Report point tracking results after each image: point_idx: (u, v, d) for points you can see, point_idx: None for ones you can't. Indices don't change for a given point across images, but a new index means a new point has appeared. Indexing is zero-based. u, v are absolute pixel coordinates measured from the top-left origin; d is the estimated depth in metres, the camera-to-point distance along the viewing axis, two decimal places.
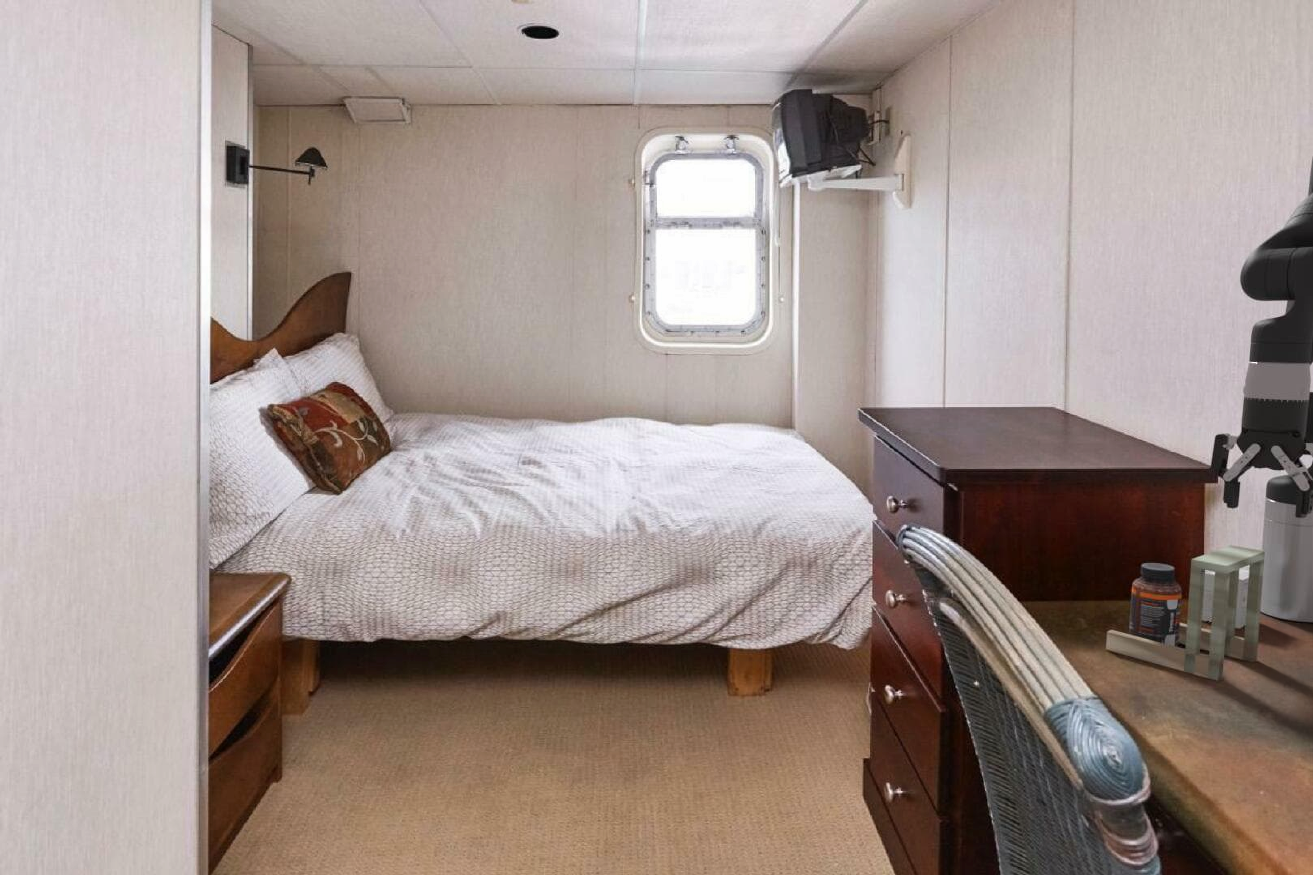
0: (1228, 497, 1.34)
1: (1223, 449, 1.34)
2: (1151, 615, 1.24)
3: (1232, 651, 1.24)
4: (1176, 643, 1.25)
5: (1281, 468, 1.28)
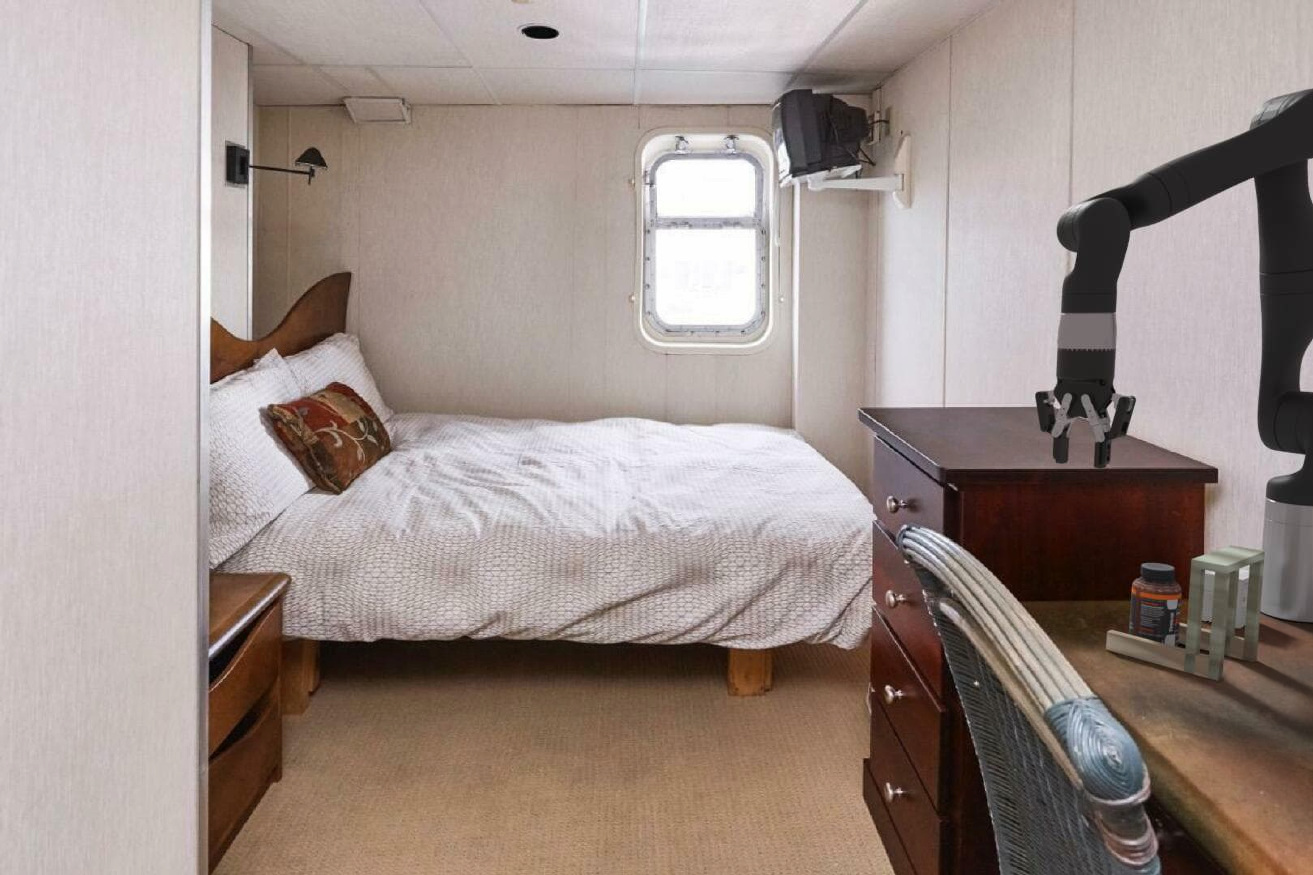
0: (1056, 453, 1.36)
1: (1045, 405, 1.37)
2: (1151, 615, 1.24)
3: (1232, 651, 1.24)
4: (1176, 643, 1.25)
5: (1086, 416, 1.32)
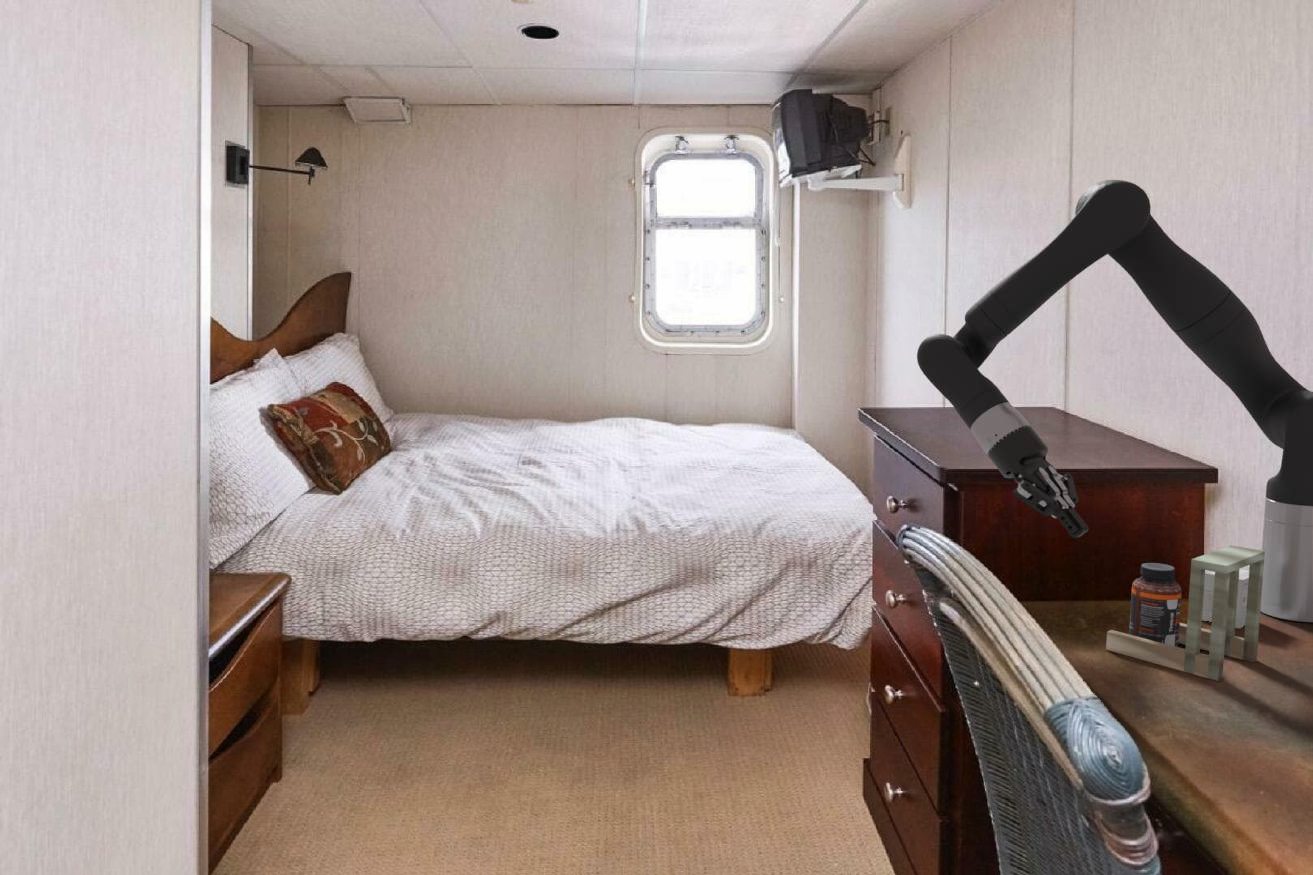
0: None
1: None
2: (1151, 615, 1.24)
3: (1232, 651, 1.24)
4: (1176, 643, 1.25)
5: None
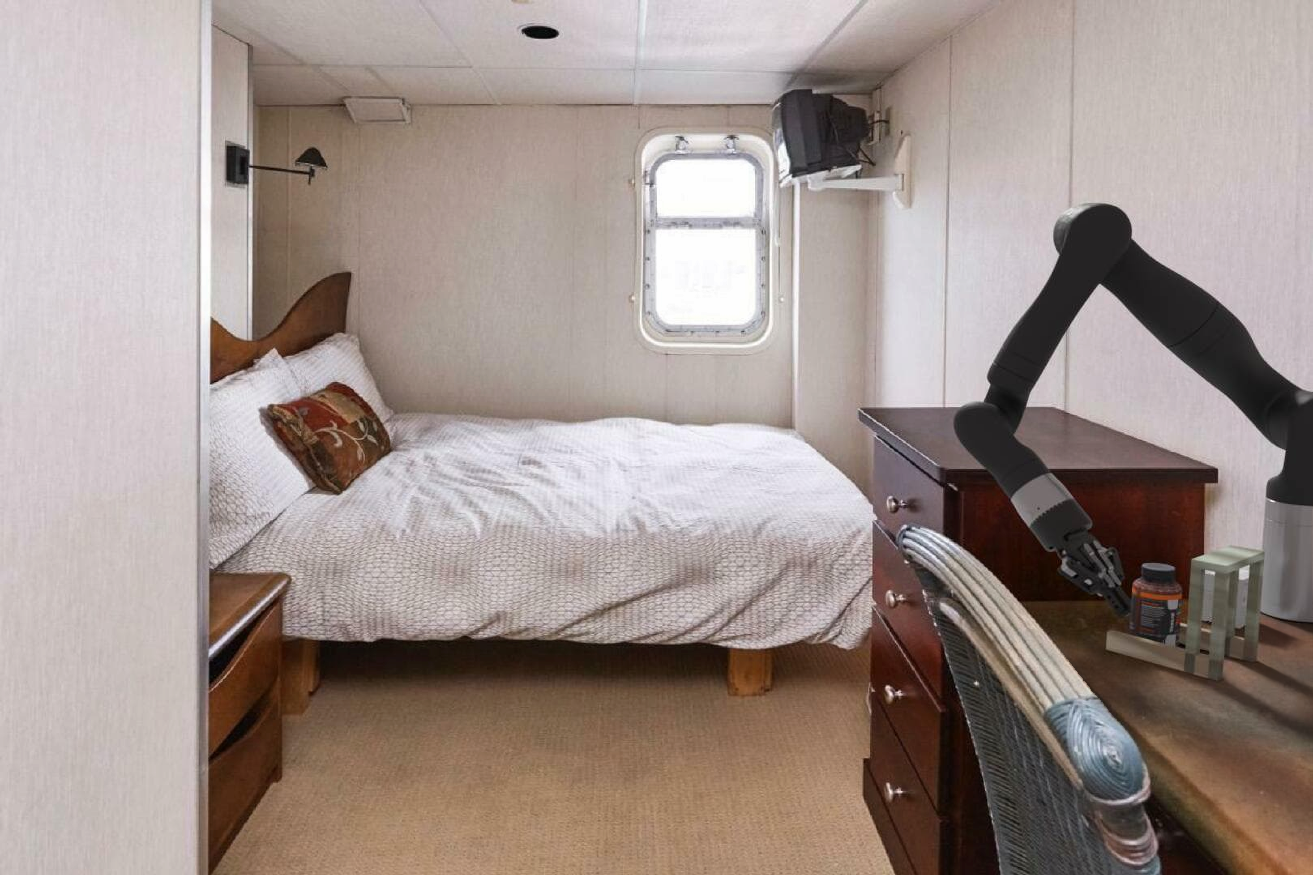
0: None
1: None
2: (1151, 615, 1.24)
3: (1232, 651, 1.24)
4: (1177, 643, 1.25)
5: None
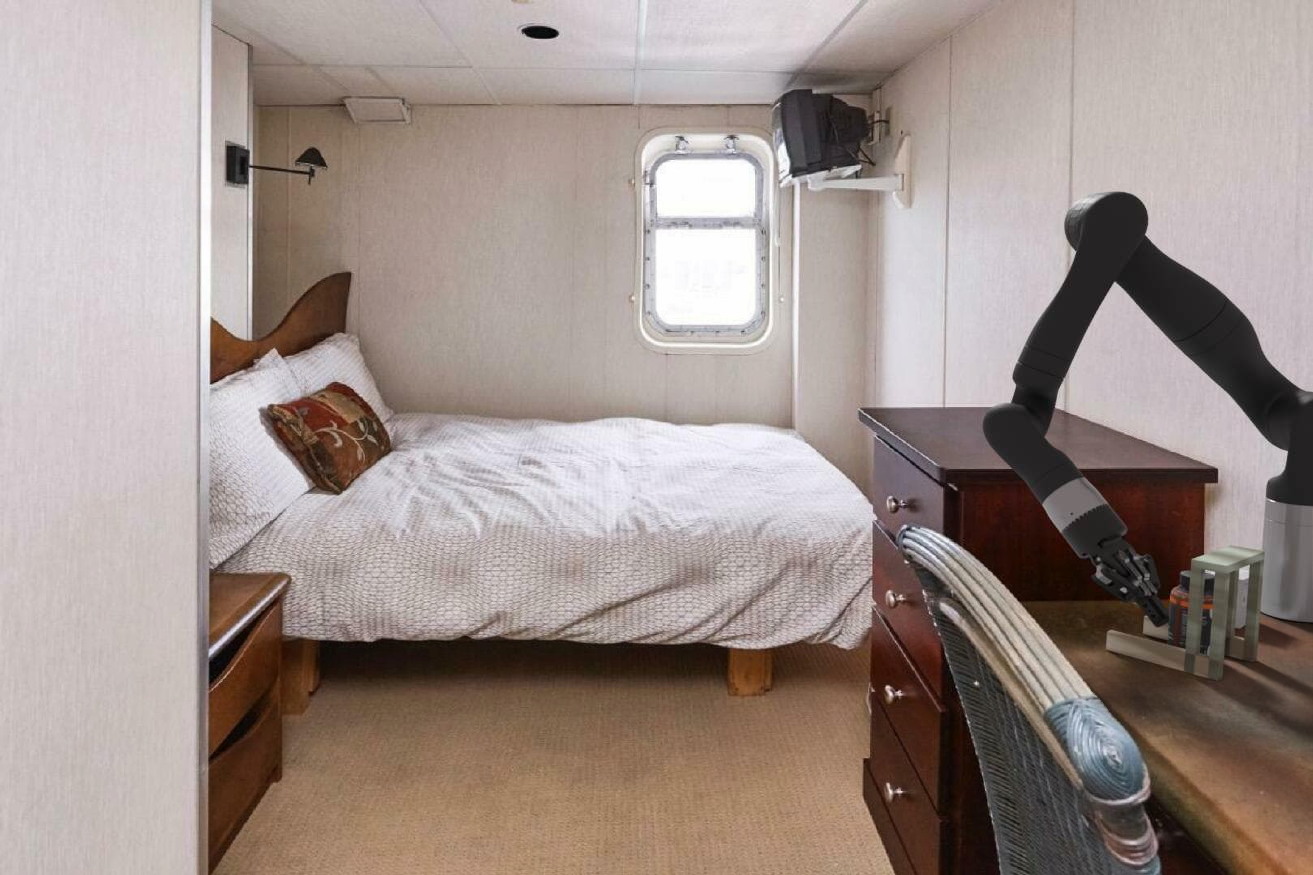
0: None
1: None
2: None
3: (1232, 651, 1.24)
4: None
5: None
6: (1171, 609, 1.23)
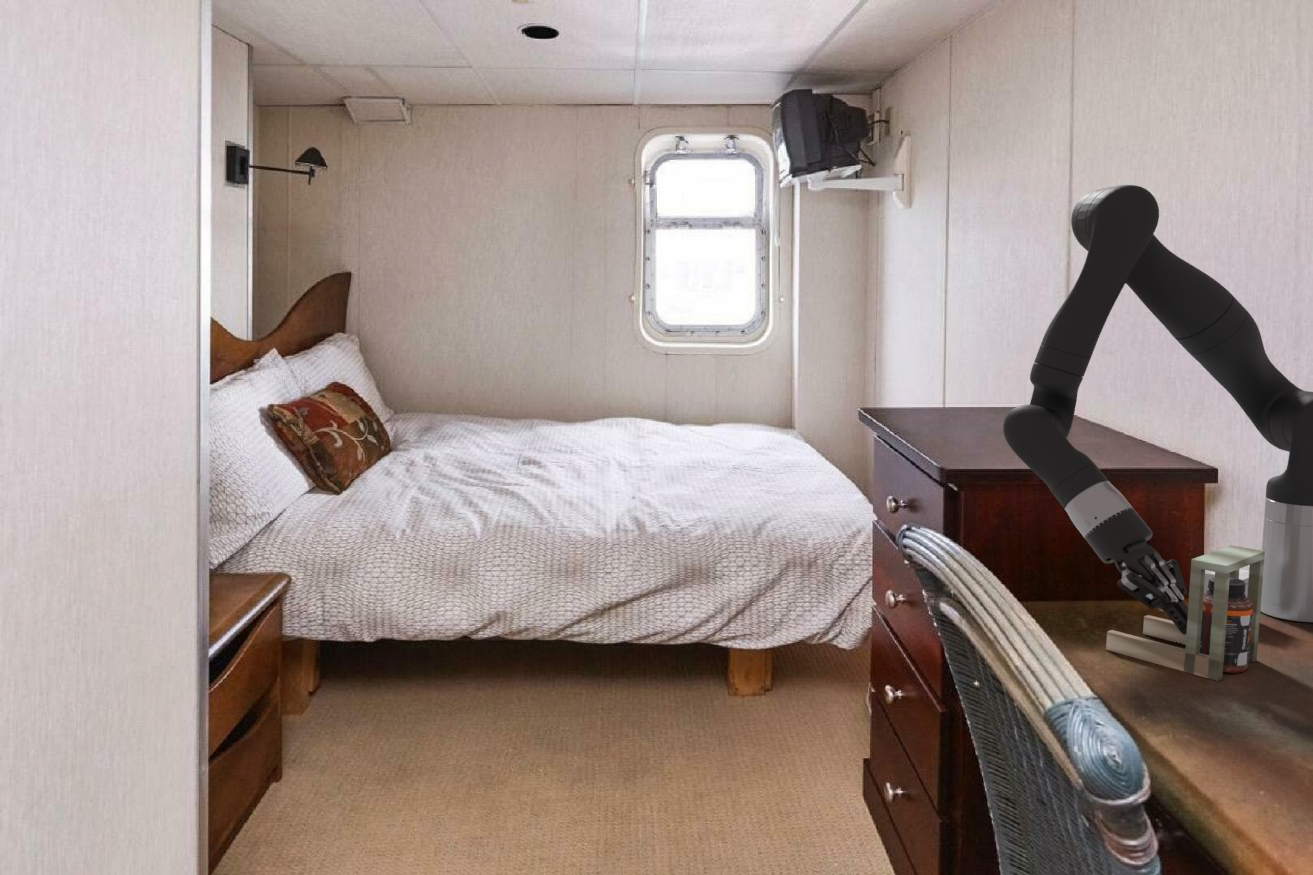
0: None
1: None
2: None
3: None
4: (1248, 661, 1.18)
5: None
6: None
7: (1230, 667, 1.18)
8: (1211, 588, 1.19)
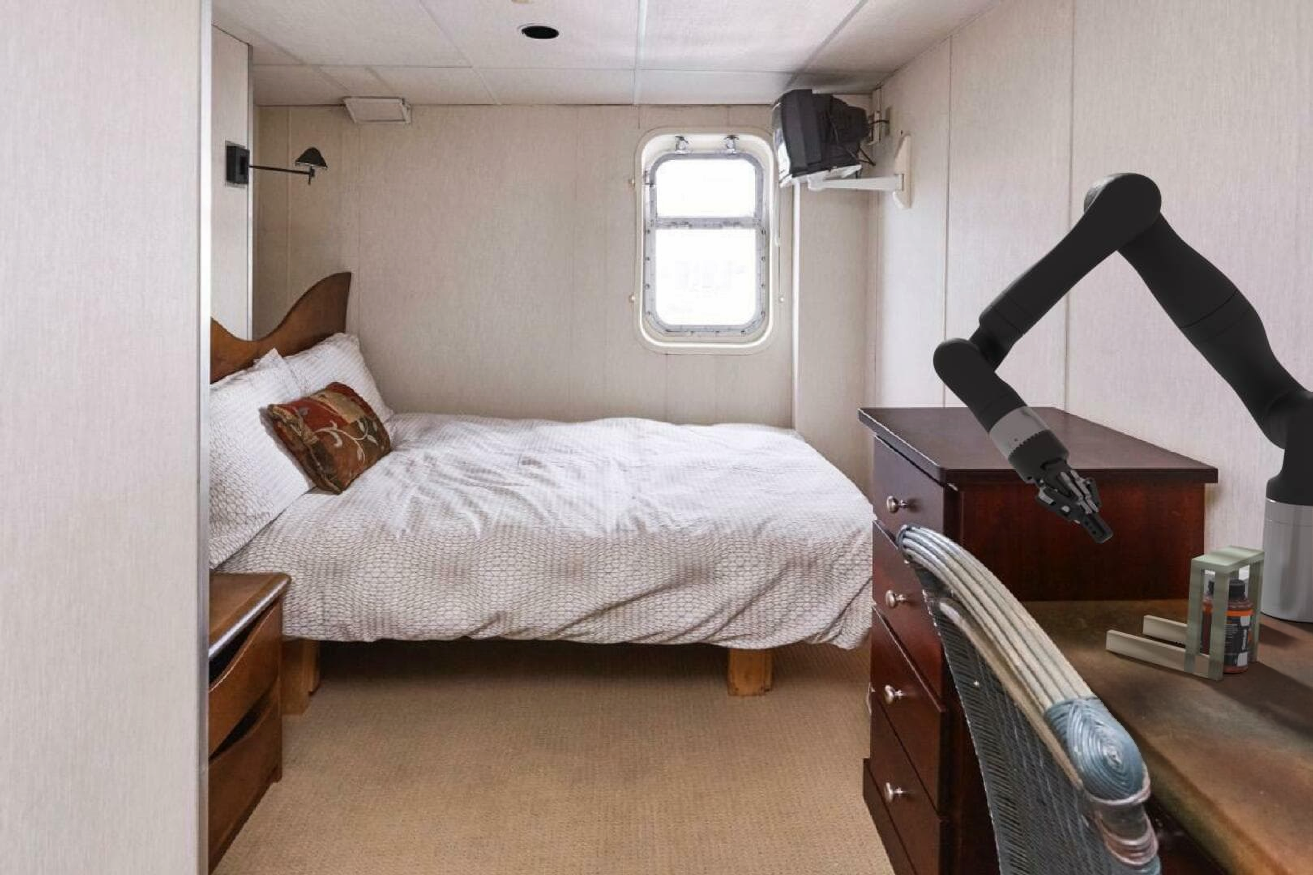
0: None
1: None
2: None
3: None
4: (1248, 661, 1.18)
5: None
6: None
7: (1230, 667, 1.18)
8: (1211, 588, 1.19)
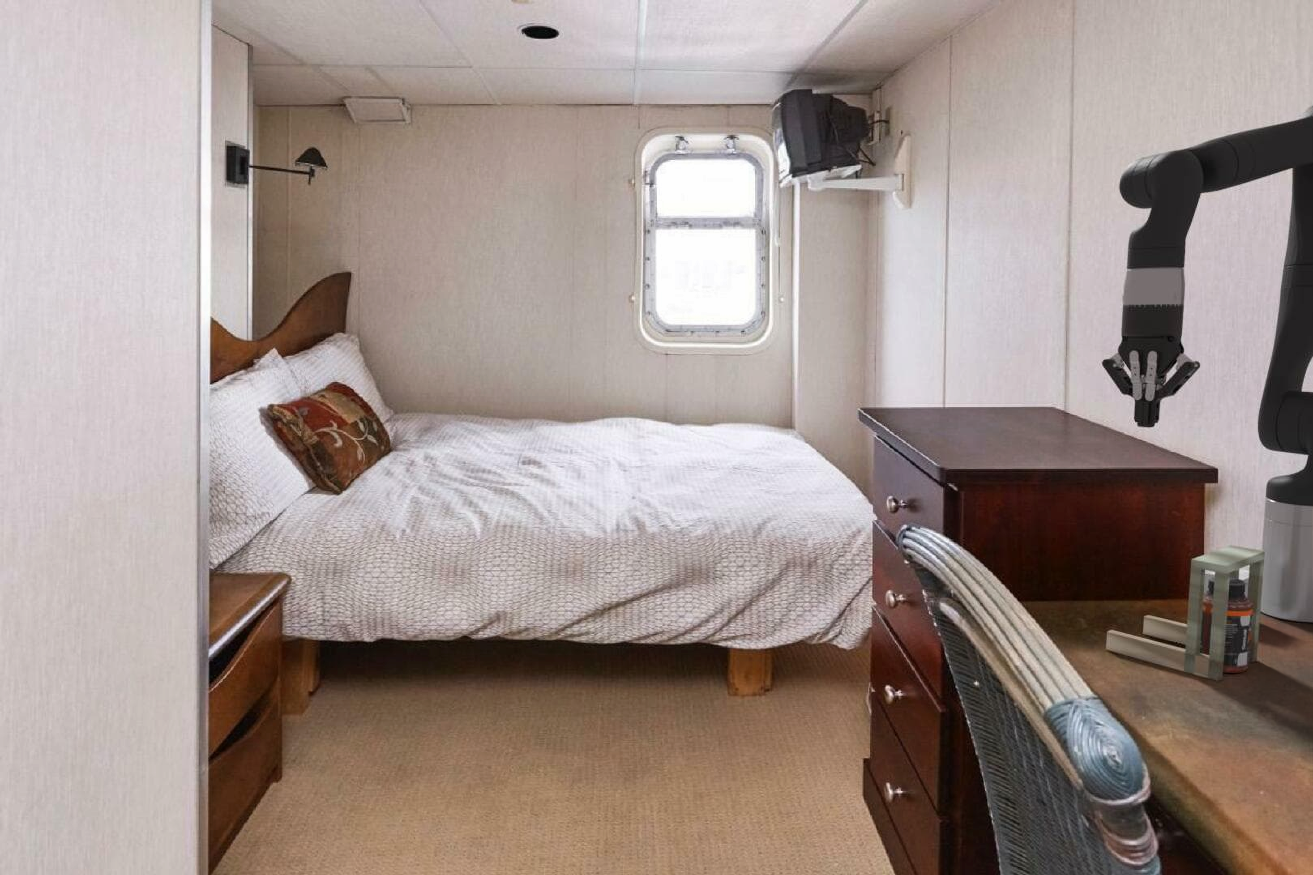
0: (1138, 416, 1.32)
1: (1116, 369, 1.34)
2: None
3: None
4: (1248, 661, 1.18)
5: None
6: None
7: (1230, 667, 1.18)
8: (1211, 588, 1.19)
